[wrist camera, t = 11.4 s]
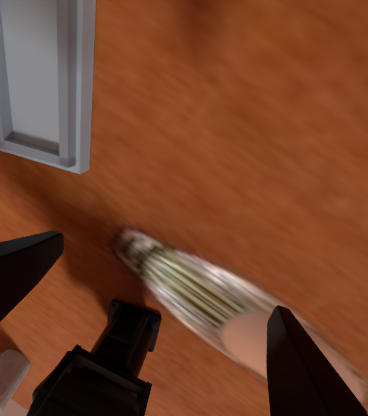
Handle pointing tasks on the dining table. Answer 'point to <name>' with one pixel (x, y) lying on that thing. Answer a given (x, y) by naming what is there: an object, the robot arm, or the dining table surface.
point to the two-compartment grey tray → (47, 80)
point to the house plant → (11, 374)
